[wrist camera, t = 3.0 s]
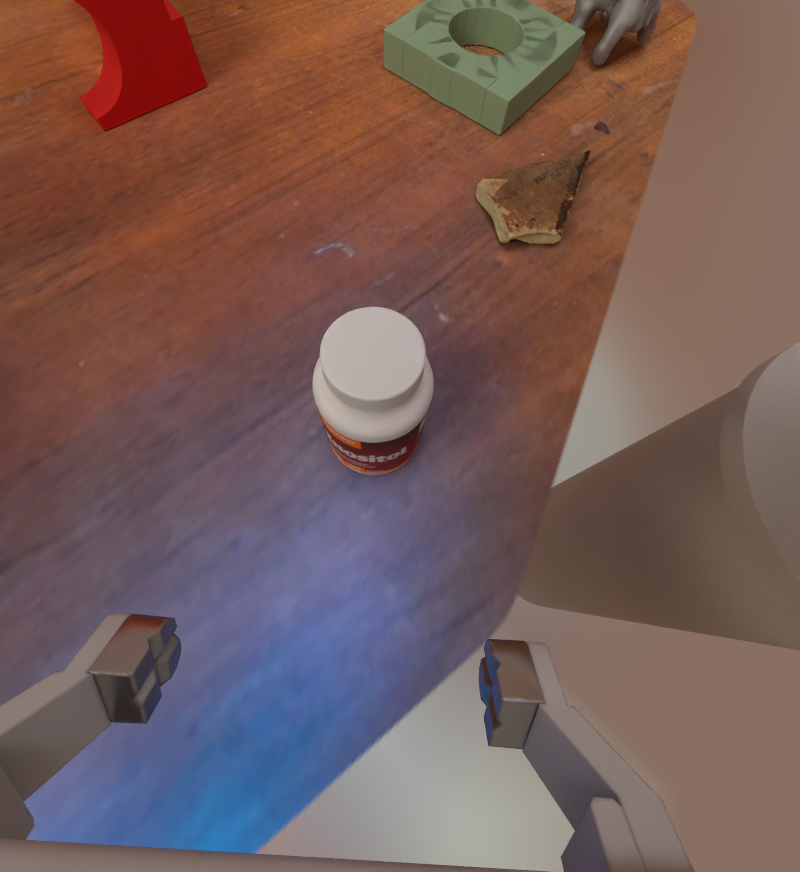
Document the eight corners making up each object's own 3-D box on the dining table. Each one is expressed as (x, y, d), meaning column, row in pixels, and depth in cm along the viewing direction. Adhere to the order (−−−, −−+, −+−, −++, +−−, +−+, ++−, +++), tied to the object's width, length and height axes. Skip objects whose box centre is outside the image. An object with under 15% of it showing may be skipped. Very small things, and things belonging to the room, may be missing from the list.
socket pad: (573, 67, 42) (587, 31, 39) (498, 137, 38) (508, 102, 36) (462, 8, 45) (467, -31, 42) (382, 68, 41) (382, 29, 38)
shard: (582, 165, 38) (591, 146, 36) (624, 229, 35) (636, 211, 34) (472, 192, 36) (476, 173, 34) (509, 261, 34) (515, 244, 32)
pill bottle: (320, 469, 28) (283, 402, 17) (339, 385, 30) (316, 281, 19) (412, 485, 28) (432, 427, 17) (426, 400, 30) (450, 303, 19)
